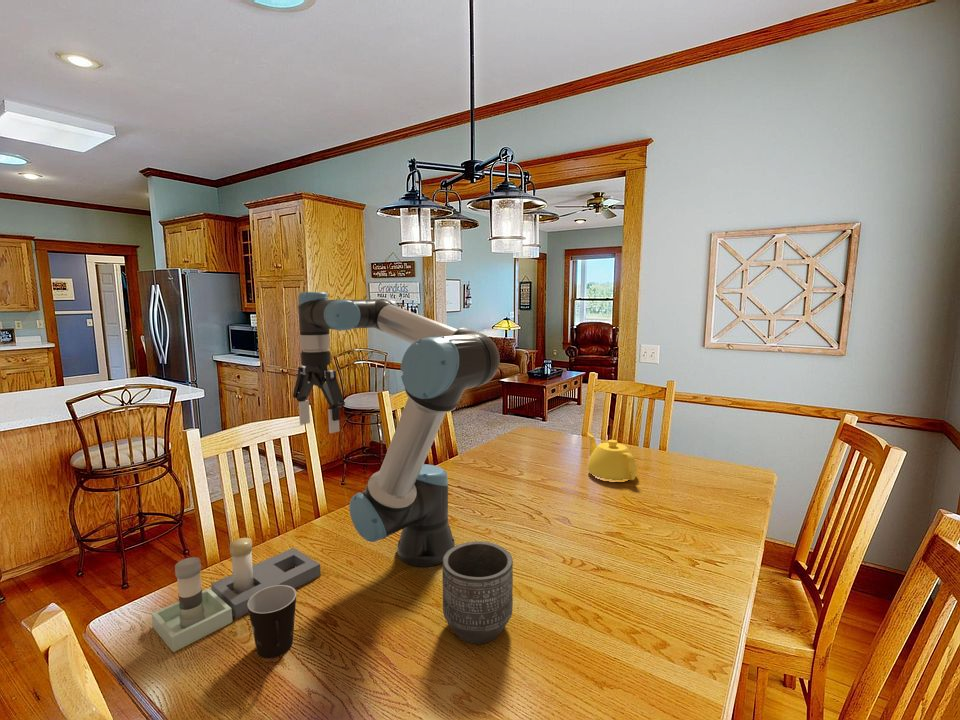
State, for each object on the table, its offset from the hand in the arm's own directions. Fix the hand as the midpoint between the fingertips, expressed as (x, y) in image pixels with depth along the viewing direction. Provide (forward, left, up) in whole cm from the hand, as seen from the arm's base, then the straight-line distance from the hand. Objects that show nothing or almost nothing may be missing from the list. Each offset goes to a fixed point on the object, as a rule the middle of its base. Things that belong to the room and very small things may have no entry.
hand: (319, 427), depth 130 cm
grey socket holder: (-10, +21, -32) cm, 39 cm away
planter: (-57, +1, -32) cm, 65 cm away
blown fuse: (-11, +38, -31) cm, 50 cm away
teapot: (-42, -96, -32) cm, 109 cm away
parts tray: (-11, +38, -32) cm, 50 cm away
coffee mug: (-31, +31, -32) cm, 54 cm away
